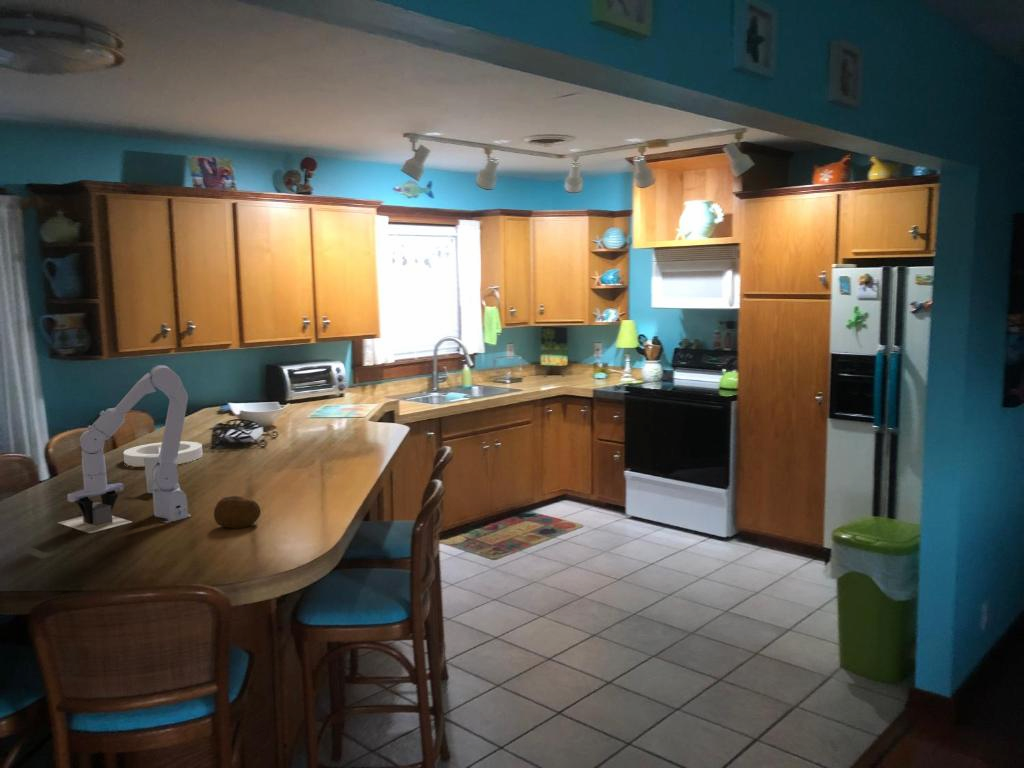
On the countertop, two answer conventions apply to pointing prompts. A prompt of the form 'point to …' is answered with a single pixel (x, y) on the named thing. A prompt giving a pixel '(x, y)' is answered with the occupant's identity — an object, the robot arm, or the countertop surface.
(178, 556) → the countertop surface
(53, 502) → the countertop surface
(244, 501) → the potato
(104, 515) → the block
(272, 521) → the countertop surface
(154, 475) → the robot arm
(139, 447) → the white flat ring
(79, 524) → the board
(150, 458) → the skincare box
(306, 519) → the countertop surface
